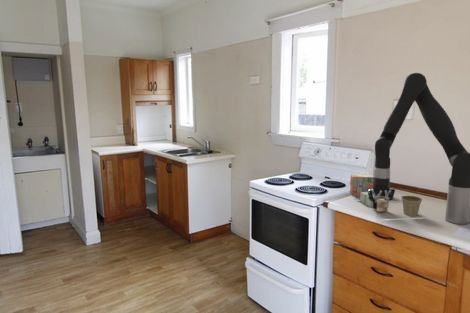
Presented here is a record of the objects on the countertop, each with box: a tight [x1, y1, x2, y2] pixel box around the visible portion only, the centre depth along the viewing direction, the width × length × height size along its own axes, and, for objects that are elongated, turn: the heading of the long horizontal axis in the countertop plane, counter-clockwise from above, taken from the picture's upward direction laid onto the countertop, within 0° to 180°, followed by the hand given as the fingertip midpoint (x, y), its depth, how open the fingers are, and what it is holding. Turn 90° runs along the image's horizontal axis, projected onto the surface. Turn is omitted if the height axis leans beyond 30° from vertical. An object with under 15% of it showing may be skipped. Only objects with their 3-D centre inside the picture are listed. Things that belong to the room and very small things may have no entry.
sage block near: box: [366, 195, 381, 208], centre depth 181 cm, size 5×5×5 cm
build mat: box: [357, 200, 372, 209], centre depth 184 cm, size 10×12×1 cm
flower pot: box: [400, 195, 423, 217], centre depth 167 cm, size 9×9×9 cm
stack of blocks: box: [349, 174, 391, 198], centre depth 201 cm, size 21×6×12 cm, turn 79°
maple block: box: [372, 198, 389, 213], centre depth 172 cm, size 5×5×5 cm
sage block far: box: [359, 192, 368, 203], centre depth 187 cm, size 5×5×5 cm
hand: (380, 208), depth 172 cm, fingers closed on maple block, 5 cm apart
